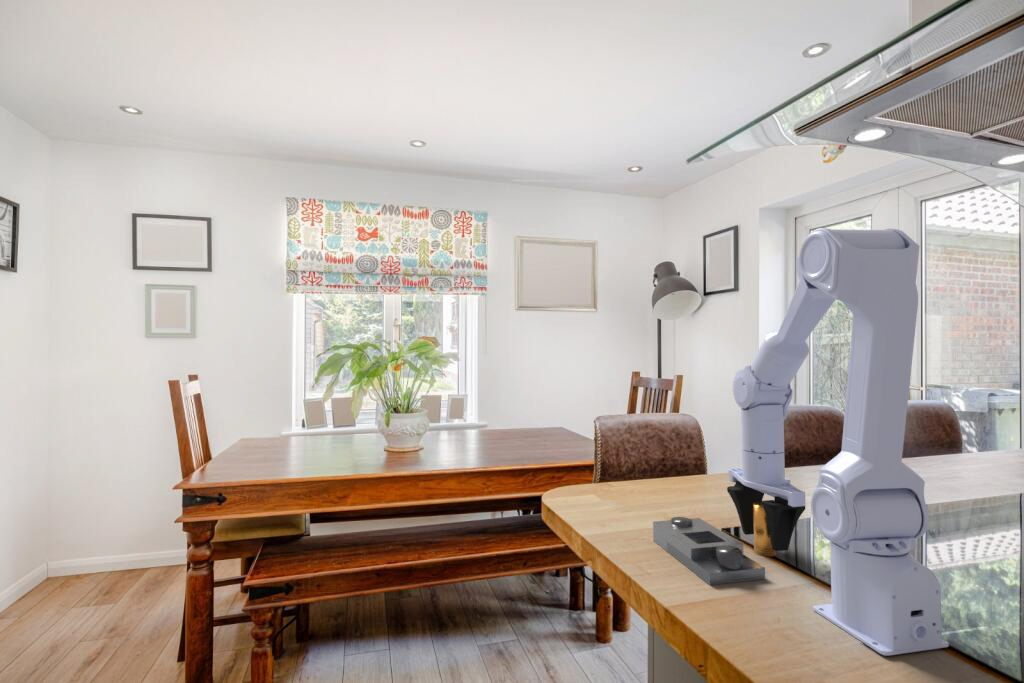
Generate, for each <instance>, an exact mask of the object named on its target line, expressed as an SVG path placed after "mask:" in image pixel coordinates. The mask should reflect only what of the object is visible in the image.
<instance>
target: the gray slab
mask: <svg viewBox="0 0 1024 683" xmlns="http://www.w3.org/2000/svg"><path fill="white" fill-rule="evenodd" d="M652 532H653V534H652V535H653V536H652V537H653V540H652V541H653V542H655V543H656V544H657V545H658V546H660V547H661V548H662V549H663V550H665V551H666V552H667V553H669V554H670V555H671V556H672V557H673V558H674V559H676V560H677V561H678V562H680V563H681V564H682V565H683V566H685V567H686V568H687V569H689V570H690V571H691V572H692V573H694V574H696V576H698V577H699V578H700V579H702V580H703V581H704V582H705V583H707V584H708V585H709V586H716V585H725V584H731V583H732V584H735V583H742V582H743V583H744V582H750V581H751V582H752V581H761V580H762V581H763V580H766V568H765V566H763V565H761V564H760V563H758V562H756V561H754V560H753V559H751V558H750V557H748V556H747V555H745V554H744V543H743V542H741V541H739V540H737V539H736V538H734V537H733V536H730V535H729V534H727V533H726V532H724V531H722V530H720V529H719V528H716V527H715V526H713V525H711V523H708V522H706V521H705V520H703V519H701V518H700V517H696V518H695V517H694V518H689V517H684V516H675V517H672V518H670V520H667V519H666V520H656V521H655V520H654V521H652Z"/></svg>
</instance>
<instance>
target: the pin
mask: <svg viewBox="0 0 1024 683" xmlns="http://www.w3.org/2000/svg"><path fill="white" fill-rule="evenodd" d="M753 527H754V534H753V553H755V554H757V555H760V556H764V557H774V556H777V551H775V550H773V549H772V545H771V540H770V529H769V523H768V519H767V516H766V513H765V510H764V508H763V506H762V504H761V502H756V503H753Z"/></svg>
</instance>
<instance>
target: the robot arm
mask: <svg viewBox="0 0 1024 683" xmlns="http://www.w3.org/2000/svg"><path fill="white" fill-rule="evenodd" d="M919 256H920V245H919V244H918V243H916V241H914V240H913V239H912V238H911V237H910V236H909V235H908V234H906V232H905V231H902V230H900V229H898V228H885V229H831V228H825V227H819V228H817V229H814V230H813V231H811V232H810V233H809V234H808V235H807V236H806V237H805V239H804V241H803V243H802V244H801V247H800V250H799V253H798V256H797V258H796V261H795V262H796V263H795V264H796V272H797V276H798V280H799V281H798V283H797V286H796V288H795V291H794V293H793V296H792V298H791V300H790V303H789V304H788V308H787V311H786V313H785V315H784V317H783V319H782V322H781V325H780V327H779V329H777V330H772V331H770V332H768V333H767V334H766V336H765V338H764V339H763V341H762V343H761V345H760V347H759V348H758V350H757V353H756V355H755V356H754V358H753V361H752V362H751V364H750V365H745V367H744V368H743V369H742V368H741V369H738V370H737V371H736V372H735V376H734V378H733V382H732V393H733V394H732V395H733V397H734V400H735V403H736V404H737V405H738V407H740V410H741V412H740V415H741V421H740V422H741V453H742V454H741V457H742V458H741V459H742V460H741V462H742V463H741V464H742V467H741V468H728V482H731V483H735V484H733V485H731V486H730V485H729V486H727V487H726V488H727V490H726V491H727V493H728V495H729V497H730V499H731V500H732V502H733V504H734V506H735V510H736V511H737V514H738V519H739V522H740V526H741V529H742V533H743V534H744V535H746V536H747V535H749V536H750V535H754V527H753V503H756V502H761V504H762V506H763V508H764V510H765V513H766V516H767V519H768V523H769V529H770V540H771V545H772V549H773V550H775V551H776V552H783V551H789V549H790V548H789V547H790V543H791V540H792V537H793V533H794V530H795V528H796V525H797V523H798V521H799V519H800V517H801V516H802V514H803V513H804V511H806V507H807V506H806V492H805V491H804V490H801V489H799V488H797V487H796V486H794V485H793V484H792V482H791V479H790V478H789V477H786V472H785V471H786V467H785V466H786V465H785V462H786V460H785V458H786V457H785V425H784V424H785V423H784V421H785V420H787V417H788V416H789V415H788V413H789V411H788V409H789V406H790V404H791V401H792V399H793V389H792V387H791V383H792V381H793V379H794V378H795V376H796V375H797V373H798V372H799V370H800V369H801V366H802V365H803V364H804V362H805V360H806V358H807V357H808V355H809V352H810V347H809V345H808V343H807V342H806V341H807V340H808V338H809V337H810V335H811V334H812V332H813V331H814V330H815V329H816V327H817V326H818V324H819V323H820V321H821V320H822V319H823V317H825V315H826V313H828V311H829V309H830V308H831V307H832V305H833V303H835V301H836V300H837V301H839V302H841V303H842V304H844V306H845V307H846V308H847V309H848V310H849V311H850V312H851V313H852V323H851V324H852V326H851V336H850V339H851V340H850V348H849V360H848V372H847V381H846V382H847V384H846V393H845V406H844V418H843V427H842V428H843V429H842V430H843V431H842V439H841V450H840V452H839V453H838V454H837V455H836V456H834V457H833V458H832V459H830V460H829V461H828V462H827V463H825V465H823V466H822V467H821V468H820V469H819V475H818V476H819V477H818V482H817V485H816V487H815V488H814V490H813V492H812V494H811V499H810V513H811V516H812V519H813V522H814V523H815V525H816V527H817V528H818V529H819V531H820V533H821V534H822V535H823V538H824V539H826V540H828V541H829V543H830V544H829V547H830V585H831V586H830V589H831V591H830V592H831V595H830V596H831V603H825V604H817V605H813V606H812V609H813V612H814V613H815V612H816V613H817V614H819V615H820V616H822V617H823V618H824V619H826V620H827V621H829V622H830V623H832V624H834V625H836V626H837V627H839V628H840V629H842V630H843V631H844V632H846V633H848V634H849V635H851V636H852V637H854V638H856V640H858V641H860V642H861V643H863V644H864V645H866V646H868V647H870V648H871V649H873V650H874V651H875V652H876V653H879V654H880V655H882V656H886V657H887V656H896V655H903V654H909V653H910V654H911V653H916V652H922V651H930V650H937V649H942V648H943V649H944V648H948V647H950V645H949V641H948V640H946V639H944V638H943V634H942V630H943V629H942V600H941V599H942V595H941V585H940V582H939V579H938V578H937V576H936V574H935V572H933V571H932V569H930V568H929V567H928V566H926V565H923V564H922V563H921V562H919V561H918V560H917V559H916V558H915V557H914V556H913V554H912V553H911V550H915V549H916V548H917V544H916V543H917V541H916V540H918V539H920V538H922V537H923V536H924V535H925V534H926V532H927V531H928V528H929V522H930V517H929V516H930V514H929V510H928V507H927V503H926V500H925V483H926V482H925V480H924V479H923V478H922V477H921V476H920V475H919V474H918V473H917V472H916V471H914V470H913V469H912V468H910V467H909V466H908V465H906V464H905V463H904V462H903V454H904V453H903V452H904V442H905V432H906V422H907V415H908V414H907V413H908V405H909V404H908V403H909V395H910V394H909V393H910V384H911V374H912V366H913V365H912V364H913V356H914V355H913V354H914V346H915V337H916V336H915V335H916V326H917V317H918V316H917V315H918V309H919V308H918V306H919V292H918V286H917V275H918V265H919V264H918V263H919ZM764 495H767V496H770V497H772V498H773V499H770V500H769V499H767V500H763V498H764Z"/></svg>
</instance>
